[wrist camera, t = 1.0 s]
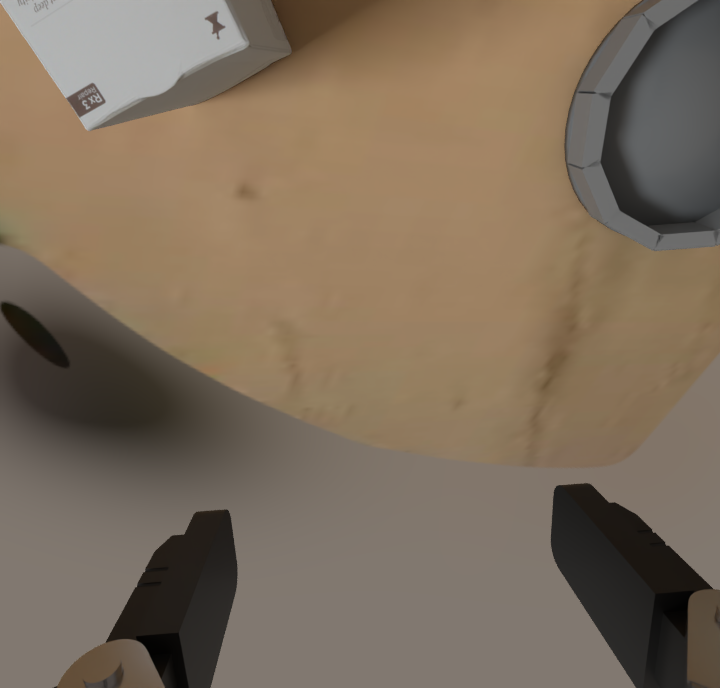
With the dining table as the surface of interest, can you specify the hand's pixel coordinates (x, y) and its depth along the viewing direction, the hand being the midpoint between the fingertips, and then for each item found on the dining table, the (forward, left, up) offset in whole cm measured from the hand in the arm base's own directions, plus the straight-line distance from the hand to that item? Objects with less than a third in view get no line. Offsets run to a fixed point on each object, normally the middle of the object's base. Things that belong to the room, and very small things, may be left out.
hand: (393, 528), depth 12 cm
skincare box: (-13, -9, -29) cm, 33 cm away
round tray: (-6, +23, -29) cm, 37 cm away
